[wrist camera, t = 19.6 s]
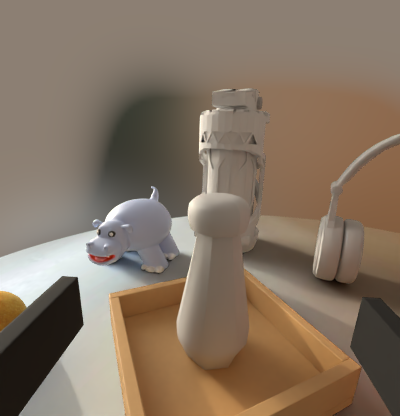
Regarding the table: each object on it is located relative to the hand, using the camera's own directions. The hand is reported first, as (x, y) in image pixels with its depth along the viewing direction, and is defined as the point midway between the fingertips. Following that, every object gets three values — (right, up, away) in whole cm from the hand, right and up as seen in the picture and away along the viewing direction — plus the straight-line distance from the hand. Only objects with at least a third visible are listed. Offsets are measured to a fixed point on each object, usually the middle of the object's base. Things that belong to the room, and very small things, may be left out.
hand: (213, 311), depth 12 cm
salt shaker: (0, -7, +9) cm, 12 cm away
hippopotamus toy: (-10, -3, +25) cm, 27 cm away
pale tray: (0, -8, +9) cm, 12 cm away
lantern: (+4, -1, +33) cm, 34 cm away
